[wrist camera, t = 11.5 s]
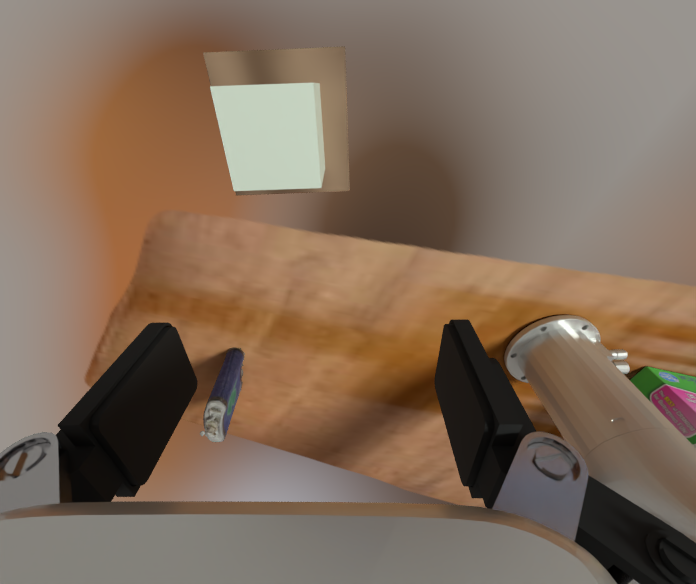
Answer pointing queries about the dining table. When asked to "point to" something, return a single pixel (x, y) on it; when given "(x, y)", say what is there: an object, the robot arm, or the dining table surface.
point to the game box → (671, 397)
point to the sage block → (271, 135)
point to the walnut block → (297, 69)
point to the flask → (224, 396)
